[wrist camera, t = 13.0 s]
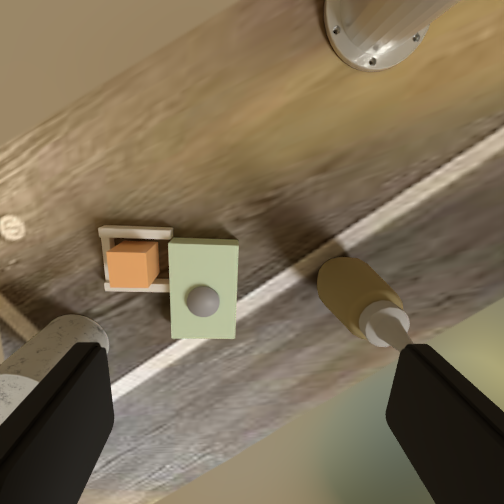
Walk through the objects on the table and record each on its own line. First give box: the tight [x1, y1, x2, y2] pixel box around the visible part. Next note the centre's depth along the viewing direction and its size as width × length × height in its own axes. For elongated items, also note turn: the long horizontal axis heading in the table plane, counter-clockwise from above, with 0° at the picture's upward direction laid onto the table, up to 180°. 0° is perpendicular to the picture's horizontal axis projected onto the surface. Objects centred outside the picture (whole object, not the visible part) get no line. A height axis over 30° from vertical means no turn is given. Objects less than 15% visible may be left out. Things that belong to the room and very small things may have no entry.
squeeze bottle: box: [317, 257, 414, 352], centre depth 32 cm, size 8×8×18 cm
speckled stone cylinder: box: [0, 314, 109, 425], centre depth 36 cm, size 10×10×12 cm
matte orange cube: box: [106, 241, 160, 288], centre depth 36 cm, size 5×5×6 cm
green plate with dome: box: [98, 225, 239, 339], centre depth 38 cm, size 15×18×4 cm
